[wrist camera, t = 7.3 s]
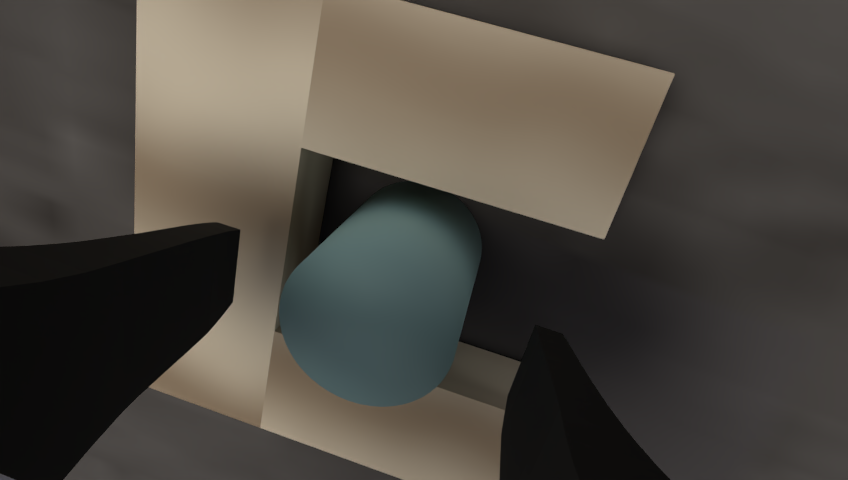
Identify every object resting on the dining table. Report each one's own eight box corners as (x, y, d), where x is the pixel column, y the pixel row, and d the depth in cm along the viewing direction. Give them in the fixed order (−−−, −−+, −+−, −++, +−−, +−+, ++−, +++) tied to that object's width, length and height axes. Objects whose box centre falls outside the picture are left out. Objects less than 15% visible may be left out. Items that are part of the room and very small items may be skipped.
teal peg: (461, 319, 16) (430, 429, 12) (343, 280, 17) (269, 372, 12) (498, 204, 15) (479, 280, 10) (366, 164, 15) (291, 220, 11)
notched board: (495, 450, 18) (488, 510, 16) (181, 340, 19) (132, 381, 17) (650, 66, 13) (675, 73, 10) (204, -53, 14) (137, -70, 11)
